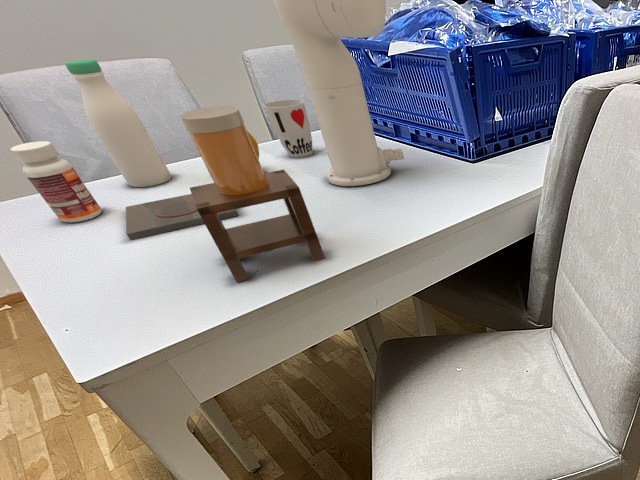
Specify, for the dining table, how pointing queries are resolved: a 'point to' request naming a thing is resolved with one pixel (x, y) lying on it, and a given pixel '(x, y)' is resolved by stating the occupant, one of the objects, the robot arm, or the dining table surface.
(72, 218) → the pill bottle
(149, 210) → the hob
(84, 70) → the milk bottle
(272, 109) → the cup
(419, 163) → the dining table surface
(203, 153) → the honey jar
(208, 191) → the rack
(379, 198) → the dining table surface
